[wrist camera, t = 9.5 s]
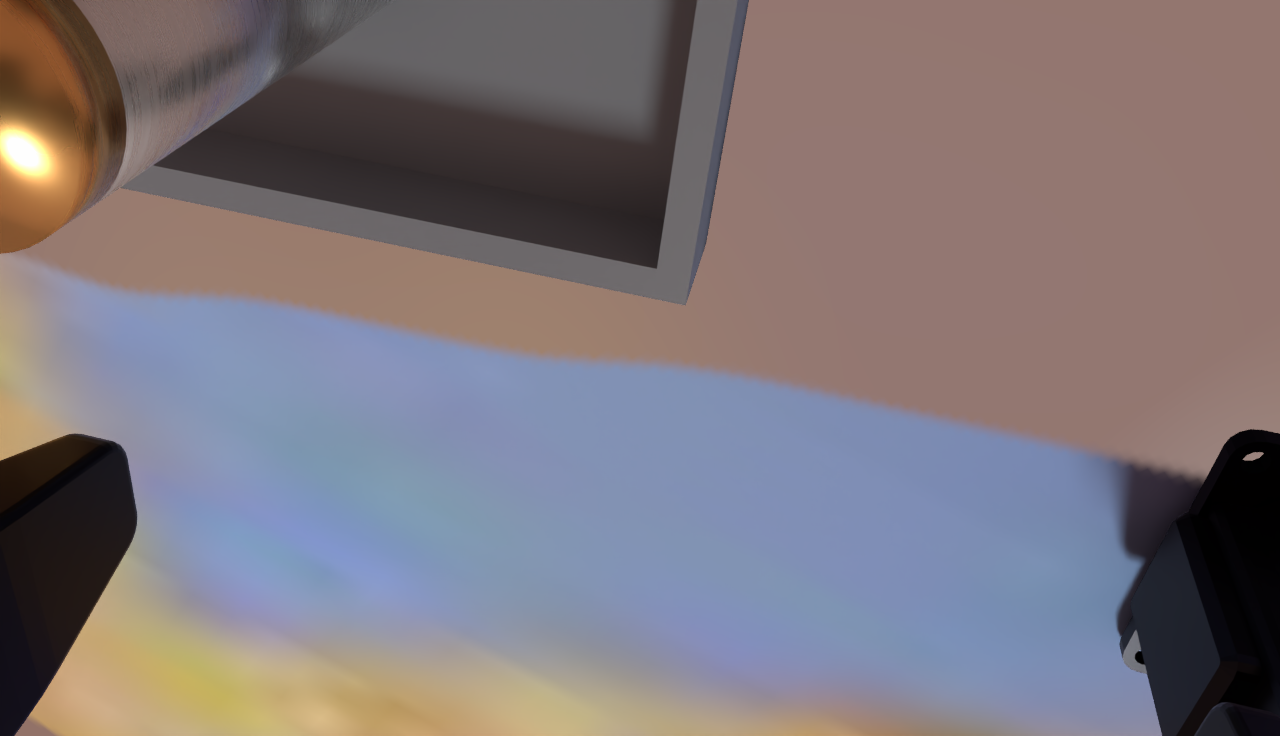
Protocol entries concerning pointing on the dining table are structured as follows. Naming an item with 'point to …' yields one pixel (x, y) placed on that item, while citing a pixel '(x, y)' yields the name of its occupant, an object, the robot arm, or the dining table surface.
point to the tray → (494, 137)
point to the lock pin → (132, 88)
